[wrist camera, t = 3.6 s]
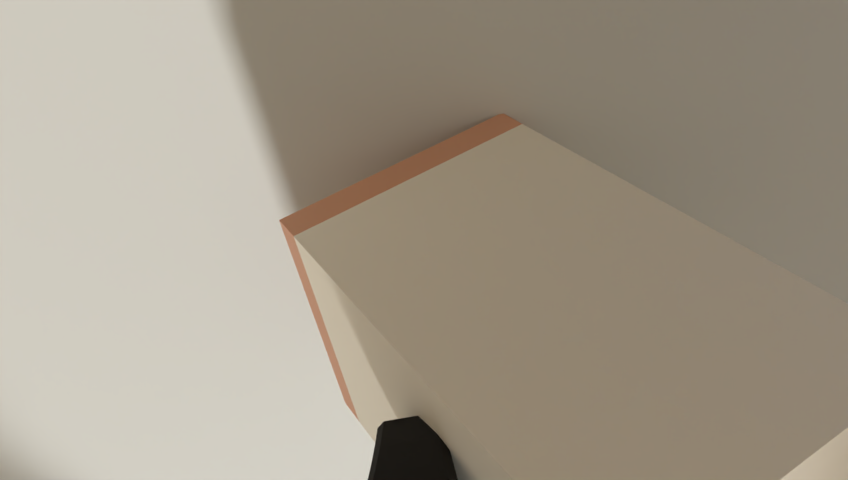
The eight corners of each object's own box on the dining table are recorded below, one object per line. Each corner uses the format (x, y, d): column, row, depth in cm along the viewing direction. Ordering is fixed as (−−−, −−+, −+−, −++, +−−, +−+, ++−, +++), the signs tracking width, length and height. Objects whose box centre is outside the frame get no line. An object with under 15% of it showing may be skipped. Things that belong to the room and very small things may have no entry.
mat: (898, 412, 21) (911, 430, 20) (33, 543, 23) (26, 562, 22) (1152, -505, 10) (1192, -512, 10) (-539, -123, 12) (-579, -113, 11)
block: (527, 296, 17) (874, 577, 11) (345, 402, 16) (633, 789, 10) (501, 112, 14) (940, 354, 9) (278, 219, 13) (622, 601, 7)
